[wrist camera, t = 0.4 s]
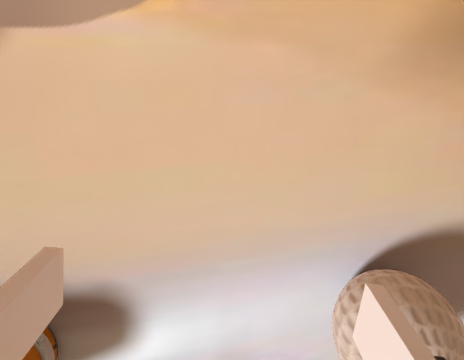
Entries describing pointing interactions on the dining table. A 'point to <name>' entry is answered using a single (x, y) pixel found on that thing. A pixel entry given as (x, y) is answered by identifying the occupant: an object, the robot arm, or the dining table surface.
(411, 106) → the dining table surface
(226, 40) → the dining table surface
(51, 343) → the mug
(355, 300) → the vase
